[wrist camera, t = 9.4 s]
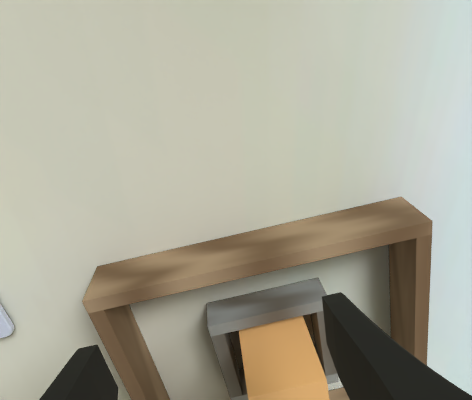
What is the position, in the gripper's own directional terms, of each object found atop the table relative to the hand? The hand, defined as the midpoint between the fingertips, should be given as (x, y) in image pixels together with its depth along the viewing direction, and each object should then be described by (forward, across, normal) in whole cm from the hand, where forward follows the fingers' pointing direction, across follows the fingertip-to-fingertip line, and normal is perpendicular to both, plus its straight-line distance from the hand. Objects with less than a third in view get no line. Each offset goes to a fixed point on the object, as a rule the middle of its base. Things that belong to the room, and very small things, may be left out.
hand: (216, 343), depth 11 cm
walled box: (+9, -2, +10) cm, 14 cm away
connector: (+9, -2, +10) cm, 14 cm away
